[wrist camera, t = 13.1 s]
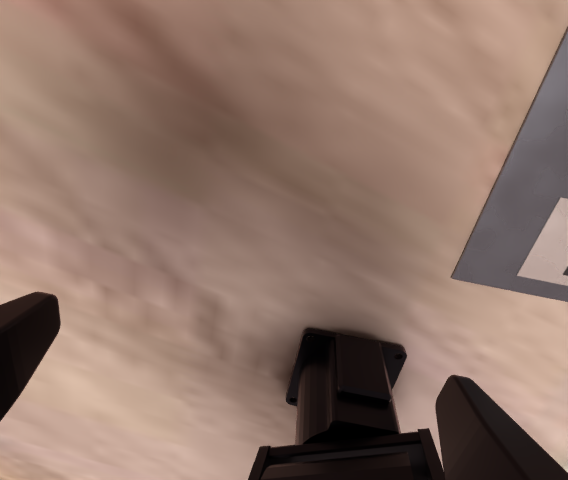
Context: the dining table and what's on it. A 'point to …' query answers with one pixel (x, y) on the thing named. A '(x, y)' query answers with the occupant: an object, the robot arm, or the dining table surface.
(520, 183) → the label plate
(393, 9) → the dining table surface
